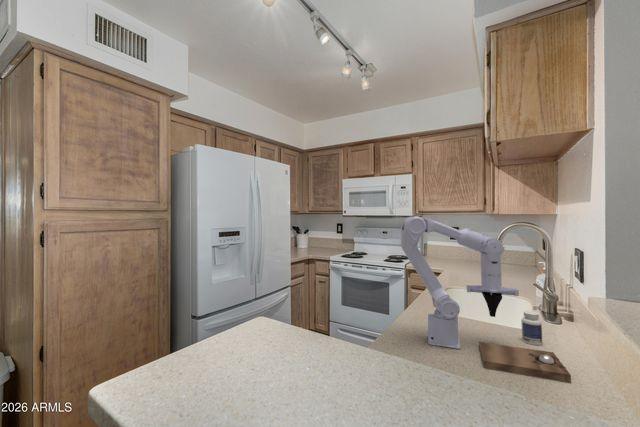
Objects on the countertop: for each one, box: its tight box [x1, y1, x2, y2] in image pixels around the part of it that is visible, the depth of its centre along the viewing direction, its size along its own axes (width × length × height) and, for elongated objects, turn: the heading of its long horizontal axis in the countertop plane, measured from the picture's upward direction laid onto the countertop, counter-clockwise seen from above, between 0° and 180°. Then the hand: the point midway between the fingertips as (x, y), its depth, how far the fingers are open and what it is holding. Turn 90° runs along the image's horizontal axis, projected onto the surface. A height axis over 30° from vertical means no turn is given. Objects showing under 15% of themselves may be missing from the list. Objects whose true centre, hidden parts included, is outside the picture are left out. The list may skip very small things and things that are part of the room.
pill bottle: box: [521, 310, 543, 346], centre depth 94 cm, size 5×5×10 cm
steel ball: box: [539, 354, 555, 365], centre depth 78 cm, size 4×4×4 cm
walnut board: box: [478, 341, 572, 384], centre depth 80 cm, size 19×13×2 cm
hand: (492, 315), depth 93 cm, fingers closed
